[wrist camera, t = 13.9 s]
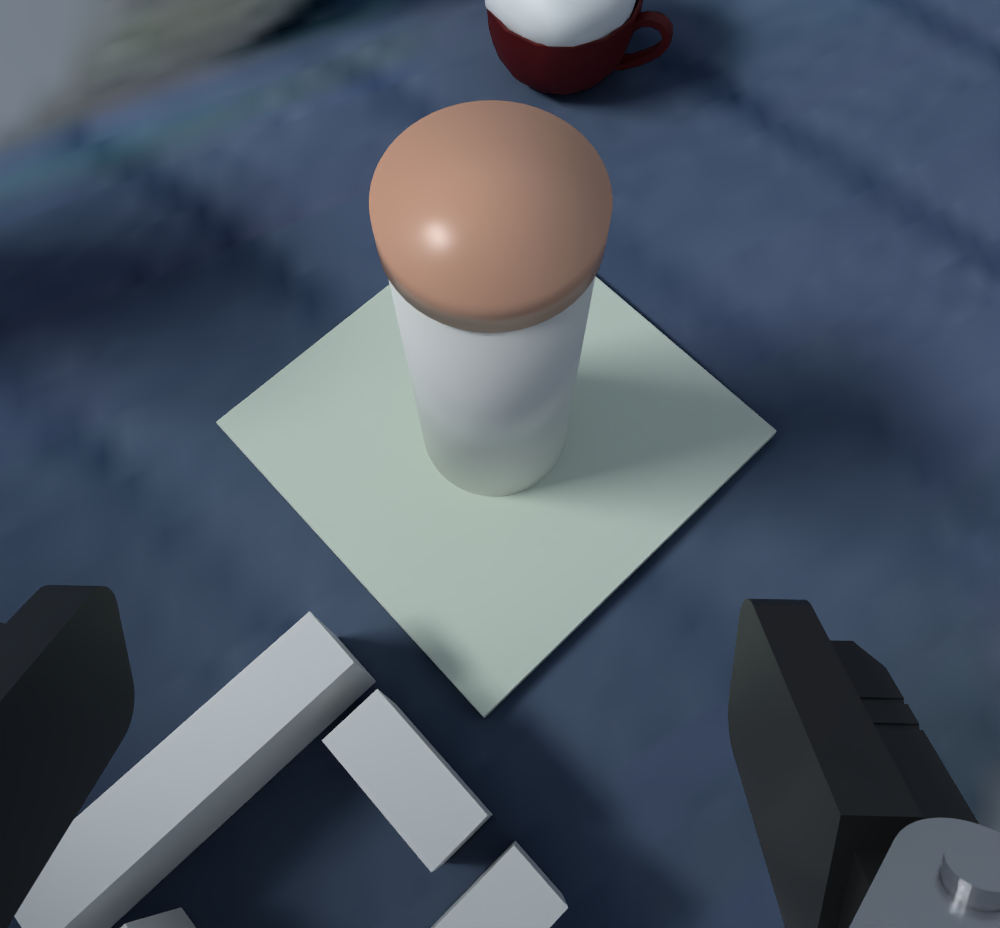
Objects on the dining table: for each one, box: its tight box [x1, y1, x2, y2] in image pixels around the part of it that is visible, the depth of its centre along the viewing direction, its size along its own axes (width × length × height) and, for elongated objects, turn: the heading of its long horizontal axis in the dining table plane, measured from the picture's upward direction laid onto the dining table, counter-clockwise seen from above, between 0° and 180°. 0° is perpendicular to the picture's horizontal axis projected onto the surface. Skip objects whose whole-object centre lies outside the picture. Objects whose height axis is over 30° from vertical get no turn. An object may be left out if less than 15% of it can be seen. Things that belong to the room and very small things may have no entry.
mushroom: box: [369, 100, 613, 497], centre depth 25 cm, size 5×5×13 cm
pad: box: [216, 276, 776, 718], centre depth 31 cm, size 14×14×1 cm
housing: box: [14, 611, 568, 928], centre depth 25 cm, size 10×10×4 cm
